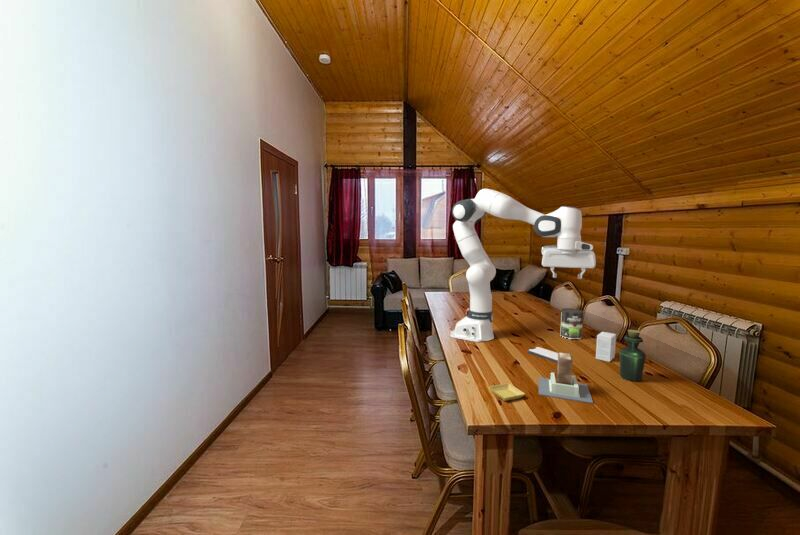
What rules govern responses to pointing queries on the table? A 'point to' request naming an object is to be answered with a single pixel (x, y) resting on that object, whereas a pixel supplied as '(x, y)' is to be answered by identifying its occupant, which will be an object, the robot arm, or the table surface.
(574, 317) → the coffee can
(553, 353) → the smartphone
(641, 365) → the potion bottle
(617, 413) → the table surface
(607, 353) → the small box
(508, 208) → the robot arm
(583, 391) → the mat
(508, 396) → the yellow square tray
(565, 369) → the tall wooden pillar
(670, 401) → the table surface
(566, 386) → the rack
